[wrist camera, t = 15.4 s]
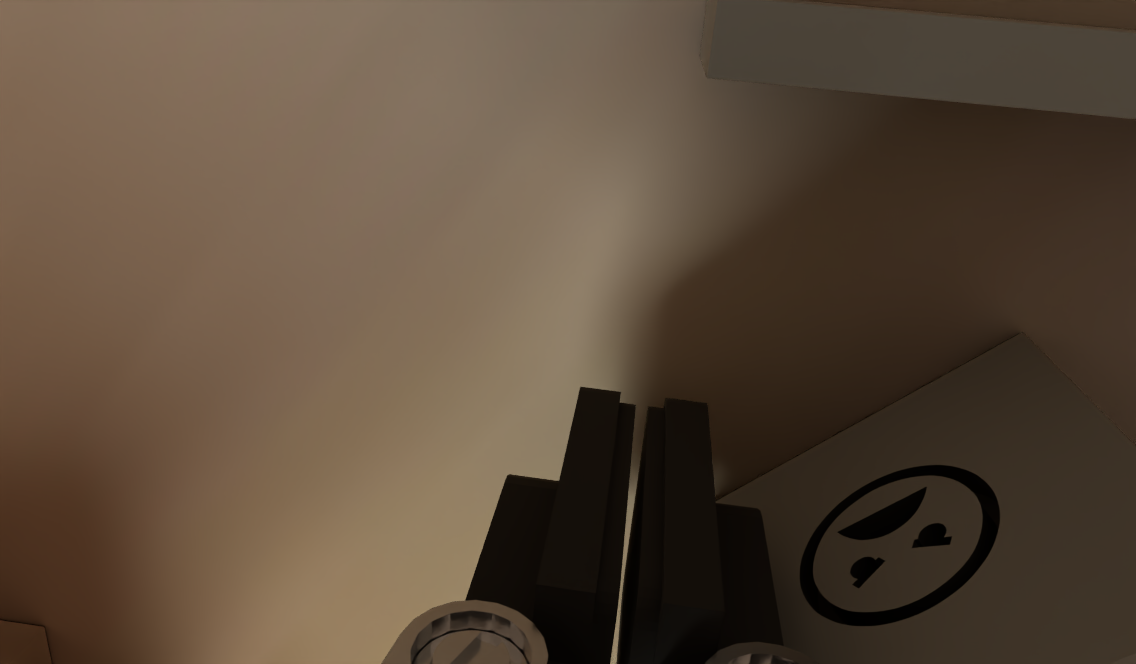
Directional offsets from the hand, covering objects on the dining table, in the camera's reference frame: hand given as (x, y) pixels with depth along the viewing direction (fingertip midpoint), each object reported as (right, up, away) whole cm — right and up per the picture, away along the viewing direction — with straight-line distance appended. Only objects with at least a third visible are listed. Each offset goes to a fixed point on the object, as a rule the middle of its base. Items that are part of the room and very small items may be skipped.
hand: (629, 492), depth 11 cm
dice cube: (+5, -1, +1) cm, 5 cm away
